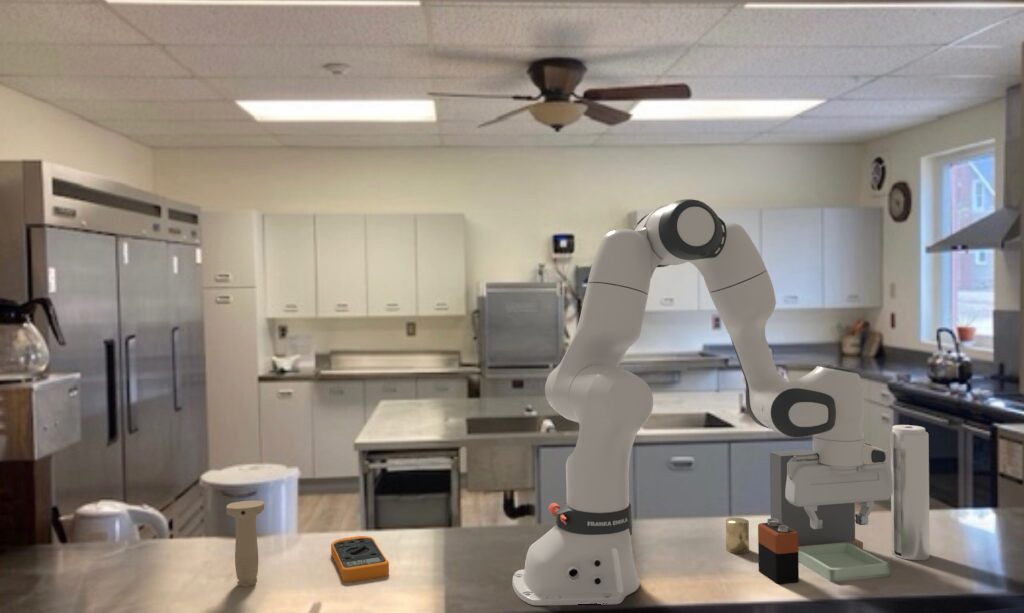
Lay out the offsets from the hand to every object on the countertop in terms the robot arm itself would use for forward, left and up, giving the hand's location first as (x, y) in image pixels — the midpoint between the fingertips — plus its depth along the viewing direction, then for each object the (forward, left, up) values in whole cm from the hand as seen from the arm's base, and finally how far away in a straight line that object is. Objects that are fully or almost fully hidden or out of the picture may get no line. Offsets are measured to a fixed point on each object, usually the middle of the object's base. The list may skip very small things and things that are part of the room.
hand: (839, 526), depth 136 cm
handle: (-108, +17, -8) cm, 110 cm away
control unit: (+1, +10, -8) cm, 13 cm away
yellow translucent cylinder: (-14, +13, -8) cm, 20 cm away
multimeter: (-88, +22, -8) cm, 91 cm away
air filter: (+17, +3, -8) cm, 19 cm away
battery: (-14, -2, -8) cm, 16 cm away
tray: (0, 0, -8) cm, 8 cm away
